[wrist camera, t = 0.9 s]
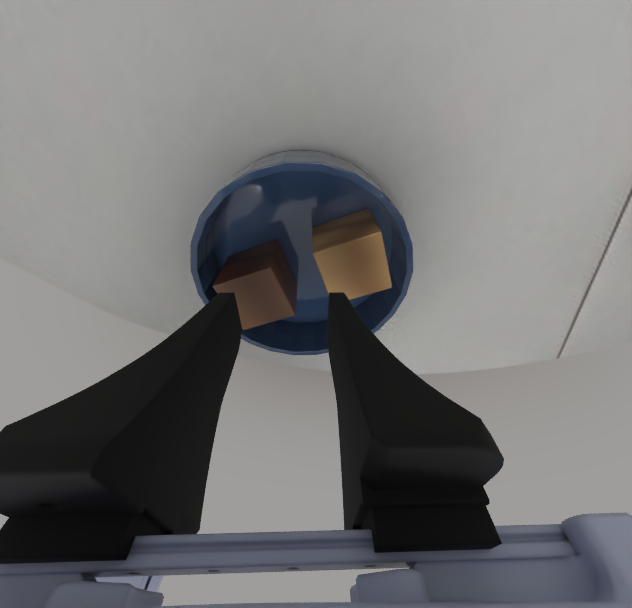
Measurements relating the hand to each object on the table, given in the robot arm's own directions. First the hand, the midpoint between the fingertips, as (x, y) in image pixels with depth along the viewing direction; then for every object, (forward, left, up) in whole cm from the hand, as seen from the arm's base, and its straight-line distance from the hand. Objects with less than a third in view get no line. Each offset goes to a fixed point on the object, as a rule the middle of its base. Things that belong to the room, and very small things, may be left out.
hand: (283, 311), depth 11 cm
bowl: (+1, -2, -9) cm, 10 cm away
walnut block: (-2, -3, -9) cm, 10 cm away
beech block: (+4, -1, -9) cm, 10 cm away
